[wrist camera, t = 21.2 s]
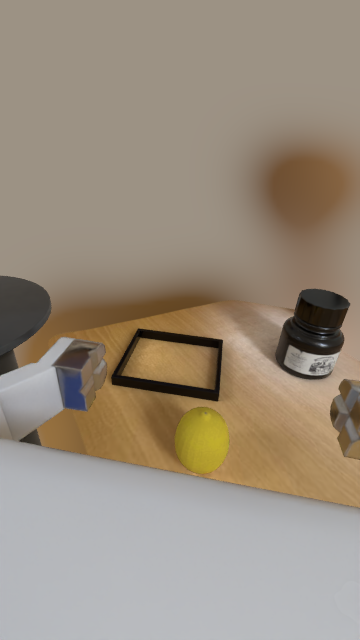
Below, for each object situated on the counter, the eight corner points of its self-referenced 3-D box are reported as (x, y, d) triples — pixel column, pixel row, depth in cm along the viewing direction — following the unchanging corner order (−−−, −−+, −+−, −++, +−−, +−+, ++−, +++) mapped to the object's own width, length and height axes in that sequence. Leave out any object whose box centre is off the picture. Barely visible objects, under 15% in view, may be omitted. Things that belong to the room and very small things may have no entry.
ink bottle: (284, 382, 44) (305, 312, 38) (265, 347, 51) (280, 285, 45) (344, 381, 45) (375, 313, 39) (317, 347, 52) (339, 286, 46)
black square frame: (111, 384, 41) (111, 376, 41) (138, 335, 53) (138, 328, 52) (217, 401, 40) (219, 393, 39) (221, 346, 51) (222, 339, 50)
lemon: (212, 500, 28) (222, 448, 24) (163, 473, 31) (165, 421, 27) (231, 455, 33) (242, 405, 29) (187, 434, 35) (192, 385, 31)
